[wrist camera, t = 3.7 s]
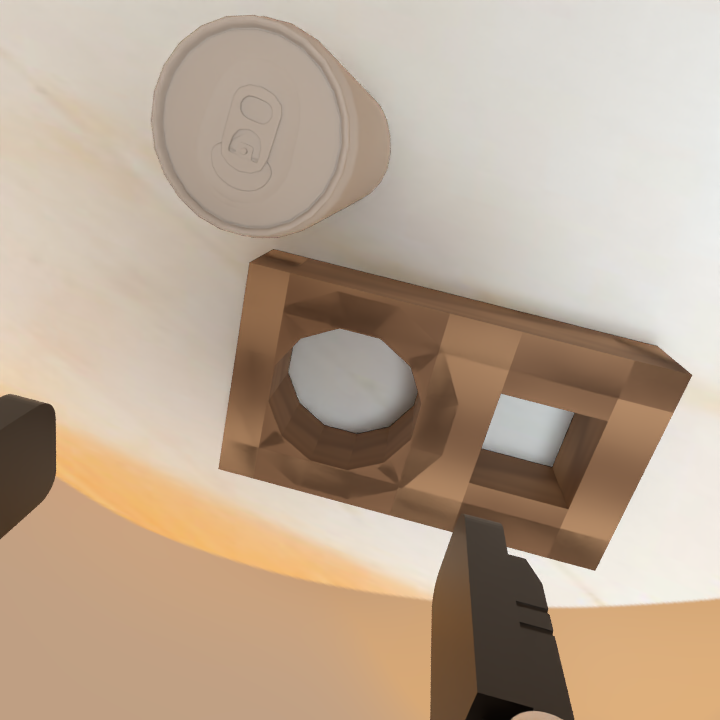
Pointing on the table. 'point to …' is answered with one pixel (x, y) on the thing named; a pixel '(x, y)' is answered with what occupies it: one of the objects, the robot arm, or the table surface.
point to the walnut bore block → (449, 408)
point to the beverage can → (265, 128)
